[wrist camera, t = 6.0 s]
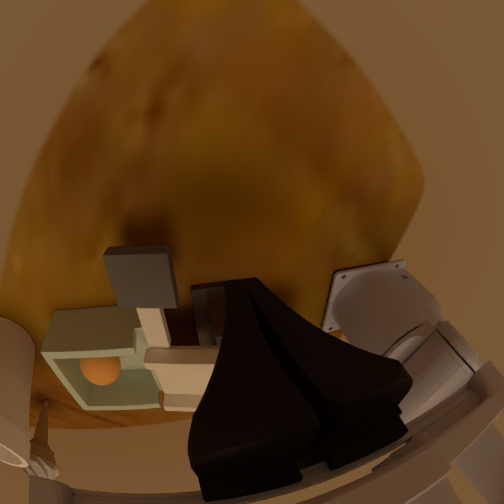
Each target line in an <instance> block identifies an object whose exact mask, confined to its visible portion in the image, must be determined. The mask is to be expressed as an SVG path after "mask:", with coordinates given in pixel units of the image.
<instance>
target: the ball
mask: <svg viewBox="0 0 504 504" xmlns="http://www.w3.org/2000/svg"><path fill="white" fill-rule="evenodd" d="M79 364H80V369H81V371H82V373H83V375H84V376H85V377H86V378H87V379H88V380H89V381H90V382H92V383H94V384H97V385H108V384H111V383H112V382H114V381H115V380H116V379H117V378H118V376H119V374H120V371H121V361H120V358H119V356H113V357H96V358H80V359H79Z"/></svg>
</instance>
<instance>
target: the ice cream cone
mask: <svg viewBox="0 0 504 504" xmlns="http://www.w3.org/2000/svg"><path fill="white" fill-rule="evenodd" d="M48 408H49V403H48V400H45V401H44V403H43V406H42V409H41V412H40V416H39V419H38V422H37V426H36V430H35V434H34V438H33V439H32V440H30V444H31V448H30V458H29V466H27V467H24V468H23V467H22V469H23V470H24V472H25V474H26V476H27V478H28V479H29V476H30V475H33V476H38V477H42V478H47V479H51V480H54V479H55V478H56V477H57V476H58V475H59V474H60V473H59V468H58V465H56V464H55V463H56V461H55V458H54V453H53V452H52V450H51V449H50V447H49V445H48V441H47V440H48Z"/></svg>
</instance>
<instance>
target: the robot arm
mask: <svg viewBox="0 0 504 504" xmlns="http://www.w3.org/2000/svg"><path fill="white" fill-rule="evenodd" d="M405 266H406V261H405V260H404V259H402V260H397V261H391V262H386V263H381V264H376V265H370V266H365V267H359V268H354V269H348V270H343V271H338V272H336V273H335V274H334V276H333V281H332V285H331V290H330V295H329V299H328V303H327V308H326V312H325V316H324V320H323V324H322V328H321V329H320V328H318V327H316V326H315V325H313V324H311V323H310V322H308V321H307V320H305V319H304V318H303V317H301V316H300V315H299V314H297V313H296V312H295V311H293V310H292V309H291V308H290V307H288V306H287V305H286V304H285V303H284V302H283V301H281V300H280V299H279V298H278V297H277V296H276V295H275V294H273V293H272V292H271V291H270V290H269V289H268V288H267V287H266V286H265V285H264V284H263V283H262V282H261V281H260V280H259V279H257V278H256V277H253V278H246V279H239V280H232V281H226V282H225V283H224V284H223V287H224V304H225V323H224V329H223V335H222V340H221V344H220V348H219V352H218V356H217V359H216V363H215V366H214V369H213V372H212V375H211V377H210V380H209V382H208V385H207V387H206V390H205V392H204V394H203V397H202V399H201V401H200V403H199V405H198V407H197V409H196V411H195V413H194V415H193V419H192V423H191V428H190V433H189V438H188V456H189V460H190V465H191V468H192V470H193V471H194V472H195V474H196V475H197V476H198V479H199V483H200V488H201V491H191V492H180V493H160V494H130V493H110V492H99V491H90V490H82V489H75V488H70V487H69V486H68V485H66V484H64V483H62V482H59V481H55V480H51V479H47V478H42V477H38V476H33V475H30V476H29V504H247V503H252V502H256V501H261V500H265V499H269V498H273V497H277V496H281V495H285V494H288V493H292V492H294V491H298V490H301V489H304V488H307V487H310V486H313V485H316V484H319V483H322V482H325V481H327V480H330V479H332V478H335V477H337V476H340V475H342V474H345V473H347V472H349V471H352V470H354V469H356V468H358V467H361V466H363V465H365V464H367V463H369V462H371V461H373V460H375V459H377V458H379V457H381V456H383V455H385V454H387V453H389V452H390V451H392V450H394V449H396V448H398V447H400V446H402V447H401V448H399V449H398V450H396V451H394V452H393V453H392V454H390V456H389V457H388V458H386V459H385V460H384V461H383V462H381V463H380V464H378V465H377V466H376V467H374V468H373V469H372V473H370V474H368V475H366V476H364V477H362V478H360V479H358V480H355V481H353V482H351V483H348V484H346V485H344V486H342V487H339V488H337V489H334V490H332V491H329V492H327V493H324V494H322V495H319V496H317V497H314V498H311V499H308V500H305V501H303V502H300V503H297V504H462V503H461V501H460V500H459V498H458V496H457V494H456V493H455V491H454V489H453V487H452V486H451V484H450V482H449V480H448V479H447V477H446V476H447V475H448V474H450V472H451V470H452V465H451V463H453V462H454V463H455V464H456V465H457V466H458V468H459V469H460V470H461V471H462V472H463V474H464V475H465V476H466V477H467V478H468V480H469V481H470V482H471V483H472V485H473V486H474V487H475V488H476V489H477V491H478V492H479V493H480V494H481V496H482V497H483V498H484V499H485V501H486V502H487V503H488V504H504V437H503V436H502V435H501V433H500V432H499V431H498V429H497V428H496V427H495V425H494V424H493V423H492V422H493V421H494V420H495V419H496V418H497V417H498V415H499V414H500V413H501V412H502V411H503V409H504V377H503V376H502V374H501V373H500V372H499V371H498V370H497V368H496V367H495V366H494V365H493V364H492V363H491V361H488V362H487V363H486V364H484V360H483V359H482V358H481V357H480V355H479V354H478V353H477V352H476V351H475V350H474V349H473V348H472V346H471V345H470V344H469V343H468V342H467V341H466V340H465V338H464V337H463V336H462V335H461V334H460V333H459V332H458V331H457V330H456V329H455V328H454V327H453V326H452V324H451V323H450V322H449V321H444V317H443V311H442V308H441V306H440V304H439V302H438V300H437V299H436V298H435V297H434V296H433V295H432V294H431V293H430V292H429V291H428V290H427V289H426V288H425V287H424V286H423V285H422V284H421V283H420V282H419V281H417V280H416V279H415V278H414V277H413V276H412V275H411V274H410V273H409V272H408V271H407V270H405ZM343 275H344V276H343ZM338 329H341V331H342V332H343V334H344V335H345V337H346V338H347V339H348V341H349V343H350V344H348V343H346V342H343V341H342V340H340V339H338V338H336V337H334V336H332V335H330V334H328V333H326V332H330V331H334V330H338Z"/></svg>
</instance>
